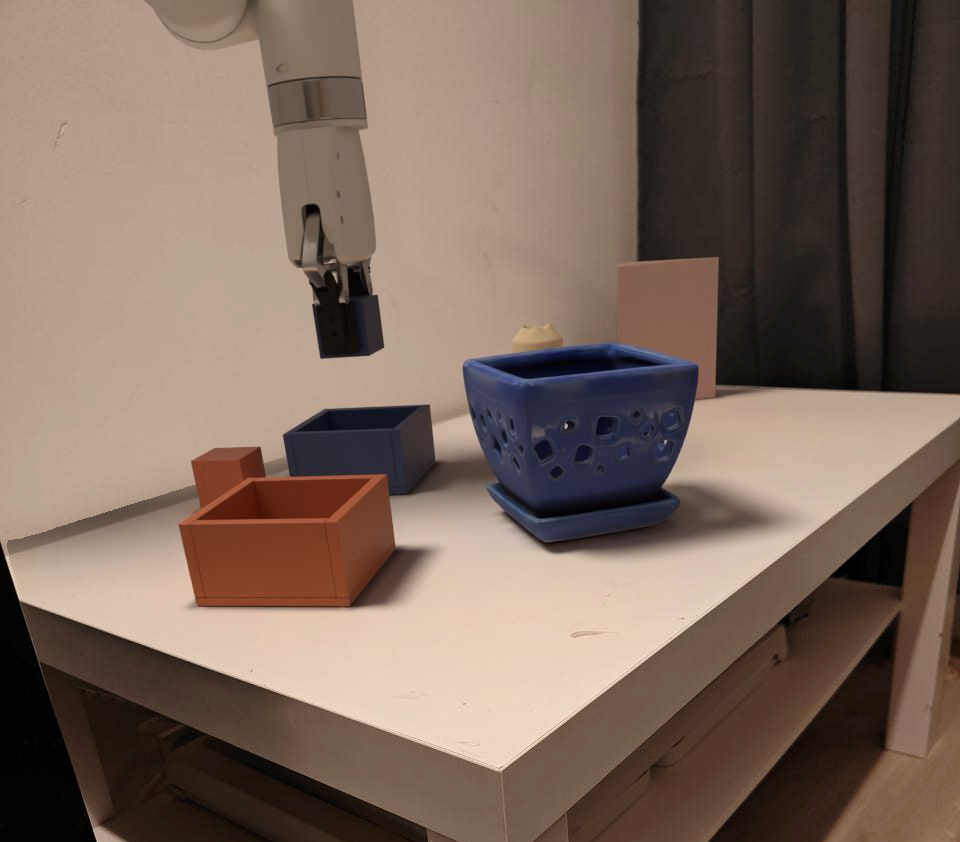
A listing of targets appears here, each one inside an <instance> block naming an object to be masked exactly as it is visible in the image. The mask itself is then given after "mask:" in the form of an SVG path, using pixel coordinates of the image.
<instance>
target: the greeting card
mask: <svg viewBox="0 0 960 842" xmlns="http://www.w3.org/2000/svg"><path fill="white" fill-rule="evenodd" d="M719 258H720V257H719V256H714V257H713V256H712V257H697V258H681V259H679V258H678V259H677V258H676V259H663V260H662V259H661V260H643V261H627V262H626V261H625V262H617V263H616V265H617V266H616V269H617V270H616V275H617V277H616V278H617V280H616V281H617V327H618V329H617V331H618V335H617V336H618V343H621V344H627V345H632V346H636V347H640V348H644V349H648V350H652V351H656V352H660V353H664V354H667V355H671V356H675V357H678V358H681V359H685V360H688V361H691V362H694V363H696V364H697V365H698V367H699V376H698V385H697V391H696V397H695V400H700V399H701V400H702V399H710V398H716V382H717V381H716V377H717V342H718V341H717V339H718V335H717V334H718V305H719V302H718V300H719V297H718V296H719V266H720V265H719V263H720V262H719Z"/></svg>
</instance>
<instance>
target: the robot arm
mask: <svg viewBox="0 0 960 842" xmlns="http://www.w3.org/2000/svg"><path fill="white" fill-rule="evenodd" d="M143 1H144V2H145V3H146V4H148V6H150V7H151V8H152V9H153V12H154V13H155V15H156V17H157V18H158V19H159V21H160V23H161V24H162V26H164V28H165V29H166V30H167V32H168V33H169V34H170V35H171V36H173V38H175V39H176V40H177V41H179V42H180V43H182V44H183V45H185V46H188V47H190V48H192V49H197V50H201V51H216V50H221V49H227V48H230V47H235V46H238V45H239V46H240V45H243V44H247V43H251V42H254V41H255V42H256V41H259V48H260V55H261V61H262V67H263V74H264V79H265V80H264V81H265V86H266V92H267V98H268V104H269V105H268V106H269V111H270V117H271V123H272V130H273V136H274V137H275V138H276V148H277V149H276V150H277V151H276V154H277V173H278V174H277V175H278V185H279V194H280V202H281V212H282V213H281V214H282V222H283V229H284V236H285V245H286V253H287V257H288V261H289V262H290V263H291V265H293V266H294V267H295V268H296V269H302V271H303V273H304V275H305V276H306V278H307V279H308V283H309V285H310V287H311V290H312V301H313V304H314V305H315V306H316V311H317V318H318V324H319V331H320V338H321V344H322V351H323V353H324V354H325V355H344V354H356V353H358V352H359V351H360V344H359V337H358V329H357V322H356V314H355V307H354V303H349V297H354V296H367V295H374V294H373V293H374V288H373V282H372V278H371V273H372V271H371V261H372V256H373V255H374V254H375V252H376V250H377V236H376V226H375V225H376V224H375V216H374V209H373V201H372V195H371V188H370V183H369V177H368V171H367V165H366V159H365V154H364V149H363V143H362V139H361V134H360V131H365V130H367V129H368V128H369V122H368V116H367V108H366V100H365V90H364V83H363V74H362V69H361V58H360V49H359V40H358V34H357V33H358V32H357V24H356V16H355V8H354V0H143ZM331 261H332V262H331ZM334 274H335V275H334Z"/></svg>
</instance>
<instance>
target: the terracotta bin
mask: <svg viewBox="0 0 960 842" xmlns="http://www.w3.org/2000/svg"><path fill="white" fill-rule="evenodd" d="M393 522H394V521H393V513H392V505H391V498H390V495H389V489H388V481H387V474H377V475H342V476H304V477H290V476H271V477H269V476H266V478H247V479H246V480H244V481H243V482H241V483H240V484H238V485H237V486H235V487H234V488H232V489H231V490H229V491H228V492H226V493H225V494H223V495H222V496H220V497H219V498H217V499H216V500H214V501H213V502H211V503H210V504H208V505H207V506H205V507H204V508H202V509H201V508H200V509H199V510H198V511H196V512H195V513H193V514H191V515H190V516H188V517H187V518H185V519H184V520H183V521H181V522H179V523H178V529H179V535H180V538H181V543H182V547H183V551H184V556H185V560H186V564H187V569H188V574H189V578H190V582H191V586H192V591H193V596H194V600H195V605H196V607H197V606H199V607H203V606H205V607H206V606H207V607H210V606H211V607H351V606H352V604H353V603H354V602H355V600H357V598H358V597H359V596H360V594H361V593H362V592H363V591H364V589H365V588H366V587H367V586H368V584H370V582H371V581H372V580H373V578H374V577H375V576H376V575H377V573H378V572H379V571H380V569H381V568H382V567H383V566H384V565H385V563H386V562H387V561H388V560H389V559H390V557H391V556H392V555H393V553H394V552H395V551H396V549H397V547H396V538H395V531H394V523H393Z"/></svg>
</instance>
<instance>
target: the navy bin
mask: <svg viewBox="0 0 960 842" xmlns="http://www.w3.org/2000/svg"><path fill="white" fill-rule="evenodd" d="M433 431H434V430H433V421H432V411H431V404H409V405H408V404H407V405H384V406H383V405H382V406H360V407H337V408H335V407H333V408H323V409H322V410H321V411H319V412H317V413H315V414H314V415H312V416H310V417H309V418H307V419H305V420H304V421H302V422H300V423H299V424H298V425H296V426H294V427H292V428H291V429H289V430H287V431H286V432H284V433H283V434H282V439H283V445H284V451H285V456H286V463H287V468H288V474H289V477H304V476H342V475H377V474H387V481H388V489H389V496H392V495H408V494H409V492H411V490H412V489H413V488H415V486H416V485H417V484H418V483H419V482H420V481H421V479H422V478H423V477H424V476H425V475H426V474H427V473H428V472H429V471H430V470H431V468H432V467H433V466H434V465H435V464H436V463H437V461H436V452H435V440H434V432H433Z"/></svg>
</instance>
